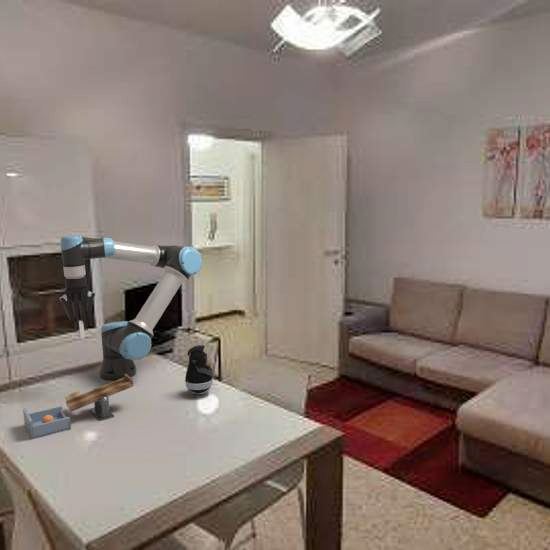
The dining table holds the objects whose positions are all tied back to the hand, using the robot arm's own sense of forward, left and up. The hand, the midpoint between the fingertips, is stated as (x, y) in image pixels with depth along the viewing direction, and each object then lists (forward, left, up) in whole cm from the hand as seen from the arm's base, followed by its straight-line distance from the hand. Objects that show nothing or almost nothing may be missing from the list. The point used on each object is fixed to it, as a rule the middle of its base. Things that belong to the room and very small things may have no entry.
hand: (81, 337), depth 190 cm
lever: (0, +18, -17) cm, 24 cm away
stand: (0, +21, -23) cm, 31 cm away
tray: (+18, +21, -23) cm, 36 cm away
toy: (-36, +26, -24) cm, 50 cm away
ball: (+18, +21, -21) cm, 35 cm away
